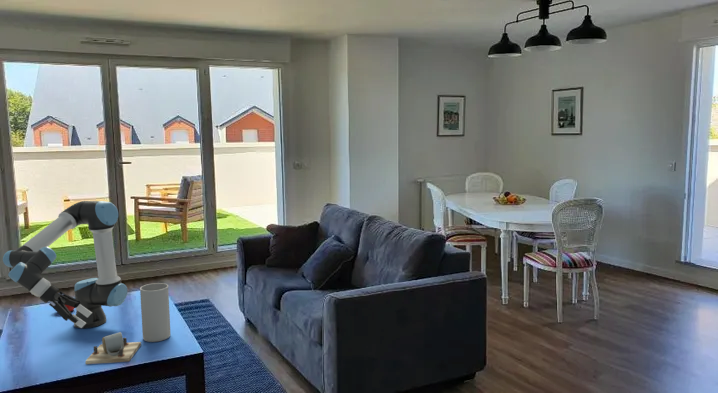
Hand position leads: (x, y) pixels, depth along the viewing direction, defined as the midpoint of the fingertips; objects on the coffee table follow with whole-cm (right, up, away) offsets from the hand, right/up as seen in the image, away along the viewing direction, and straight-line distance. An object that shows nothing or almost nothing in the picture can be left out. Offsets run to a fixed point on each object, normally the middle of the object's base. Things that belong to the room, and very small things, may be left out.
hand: (87, 320), depth 237 cm
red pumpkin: (-44, -10, +64) cm, 79 cm away
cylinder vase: (+22, -14, +23) cm, 35 cm away
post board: (+10, -16, +5) cm, 20 cm away
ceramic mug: (+11, -15, +4) cm, 19 cm away
